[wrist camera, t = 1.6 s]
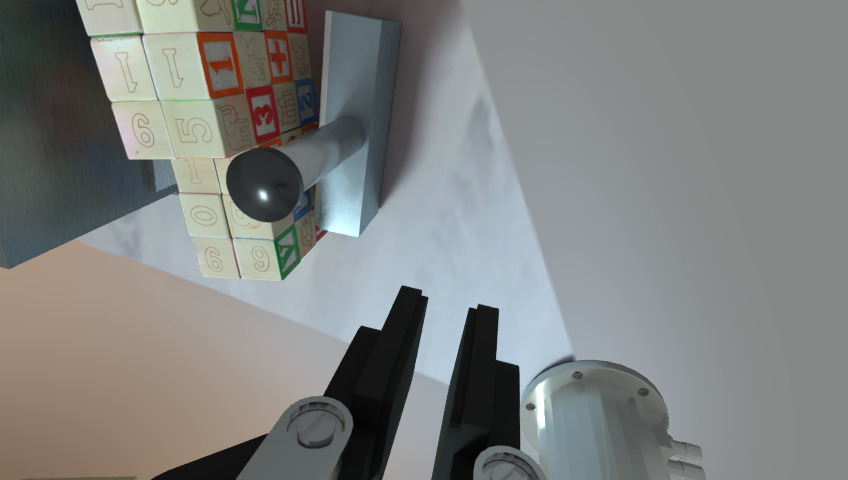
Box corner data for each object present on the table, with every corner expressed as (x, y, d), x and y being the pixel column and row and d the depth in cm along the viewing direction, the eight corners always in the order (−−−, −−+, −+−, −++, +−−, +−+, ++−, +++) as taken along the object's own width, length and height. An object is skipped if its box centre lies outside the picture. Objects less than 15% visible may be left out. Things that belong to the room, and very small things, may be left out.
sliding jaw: (403, 22, 30) (302, 13, 16) (379, 212, 36) (291, 327, 22) (352, 13, 30) (208, -5, 16) (336, 203, 36) (223, 309, 22)
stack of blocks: (333, 229, 38) (258, 309, 27) (266, 226, 39) (167, 301, 28) (296, -72, 29) (162, -136, 18) (210, -65, 30) (35, -121, 19)
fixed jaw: (189, -50, 31) (-95, -122, 16) (204, 193, 39) (21, 286, 24) (91, -67, 31) (-263, -151, 17) (126, 175, 39) (-96, 255, 25)
